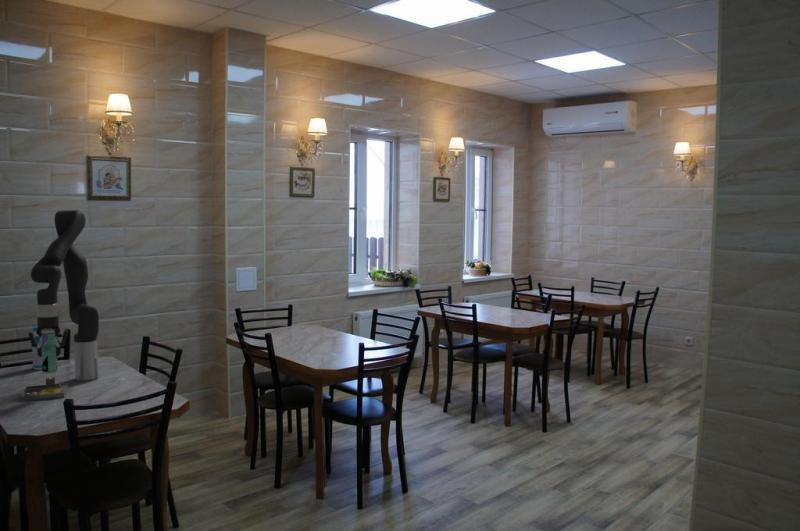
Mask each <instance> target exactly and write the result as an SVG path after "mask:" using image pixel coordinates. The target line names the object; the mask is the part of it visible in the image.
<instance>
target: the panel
mask: <svg viewBox="0 0 800 531" xmlns="http://www.w3.org/2000/svg"><path fill="white" fill-rule="evenodd" d="M23 390H24V391H23V393H22V395H21V402H28V401H36V400H37V401H38V400H39V401H40V400H48V399H51V400H52V399H61V398H60V397H62V398H65V397H64V396H66V394H67V392H68V385H62V383H55V387H46V384H42V385H41V384H40V385H39V384H38V385H29V386H25V388H24V389H23Z"/></svg>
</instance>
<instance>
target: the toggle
mask: <svg viewBox="0 0 800 531" xmlns="http://www.w3.org/2000/svg"><path fill="white" fill-rule="evenodd" d="M55 384H56V377H55V376H54V377H52V376H50V377H46V379H45V385H46V387H55Z"/></svg>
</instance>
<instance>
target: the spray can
mask: <svg viewBox="0 0 800 531" xmlns="http://www.w3.org/2000/svg"><path fill="white" fill-rule="evenodd" d="M53 334H54V335H55V329H53V328H44V329H42V330H41V336H42V343H41V353H42V370H41V372H42V374H46V375H47V374H55V373H57V372H58V371H59V370H58V356H56V347H57V346H56V344H55V342H54V340H55V339H54V335H53Z"/></svg>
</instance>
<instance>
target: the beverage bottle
mask: <svg viewBox="0 0 800 531" xmlns="http://www.w3.org/2000/svg"><path fill="white" fill-rule="evenodd" d="M37 328H38V327H37V325H36V326H33V328H32V332H34V331H37ZM34 338H35V341H36V344H38V343H39V340H40V337H39V335H38V334H36V336H35V337H34ZM31 352H32V367H33V369H34V370H38V371H42V357H40V356H38V352H37V348H36V347H32V346H31Z"/></svg>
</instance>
